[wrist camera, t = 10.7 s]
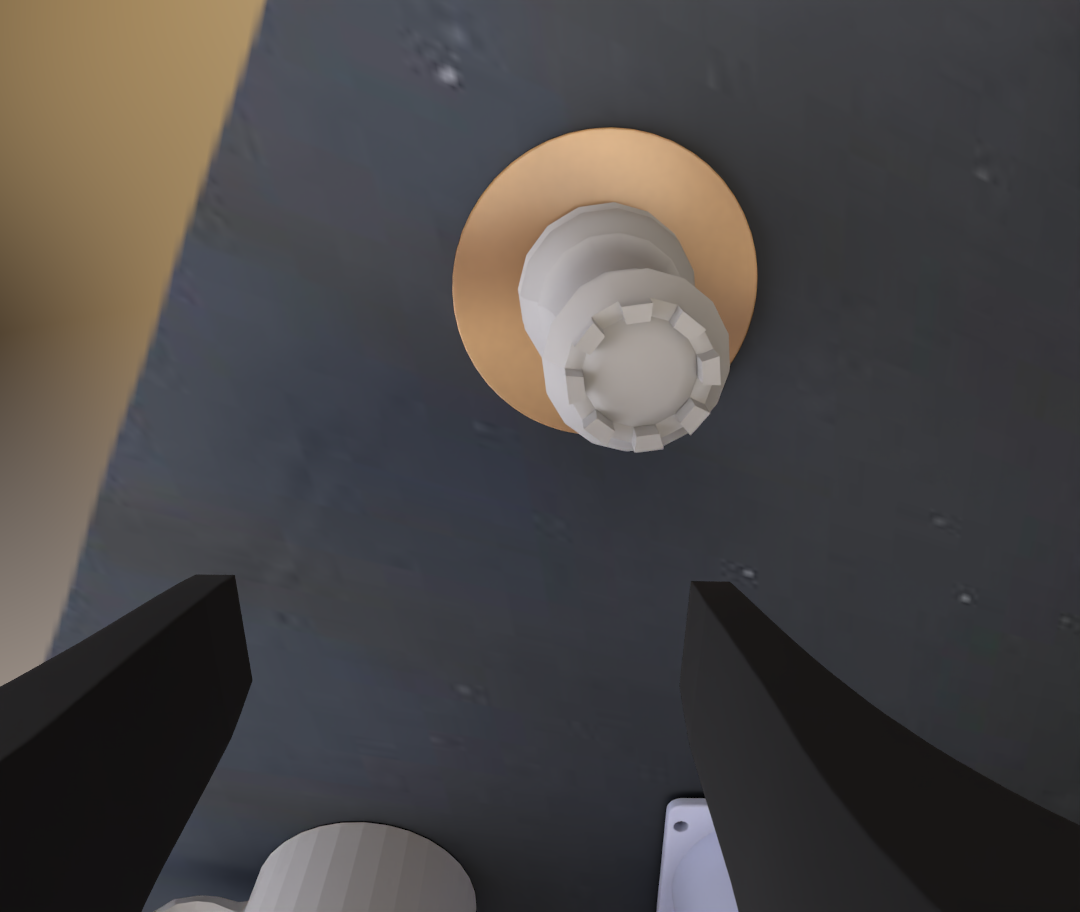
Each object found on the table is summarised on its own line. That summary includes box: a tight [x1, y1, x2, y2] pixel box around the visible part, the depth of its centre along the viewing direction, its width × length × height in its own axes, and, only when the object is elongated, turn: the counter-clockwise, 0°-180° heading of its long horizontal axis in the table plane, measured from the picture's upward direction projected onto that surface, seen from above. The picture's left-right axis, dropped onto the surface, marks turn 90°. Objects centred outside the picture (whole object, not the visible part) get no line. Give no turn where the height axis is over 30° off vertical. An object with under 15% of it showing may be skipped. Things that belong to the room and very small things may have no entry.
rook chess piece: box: [518, 202, 730, 453], centre depth 16 cm, size 4×4×8 cm
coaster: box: [452, 127, 758, 434], centre depth 20 cm, size 8×8×1 cm
